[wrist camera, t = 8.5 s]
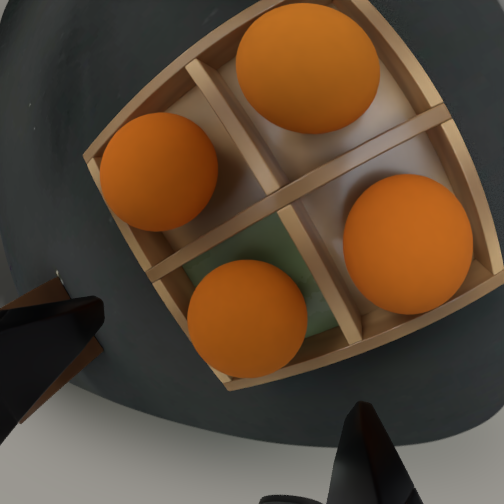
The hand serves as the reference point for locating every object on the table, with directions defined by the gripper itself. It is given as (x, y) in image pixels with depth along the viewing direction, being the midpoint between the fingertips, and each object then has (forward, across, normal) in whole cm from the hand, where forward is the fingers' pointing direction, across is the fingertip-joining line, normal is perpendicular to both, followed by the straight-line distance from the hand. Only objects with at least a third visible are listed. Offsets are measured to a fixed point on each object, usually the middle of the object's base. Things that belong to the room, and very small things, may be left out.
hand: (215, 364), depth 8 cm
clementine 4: (+6, -5, -4) cm, 9 cm away
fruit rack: (+6, 0, -4) cm, 8 cm away
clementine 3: (+6, 0, -9) cm, 11 cm away
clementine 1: (+6, +5, -4) cm, 8 cm away
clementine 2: (+5, 0, 0) cm, 5 cm away
